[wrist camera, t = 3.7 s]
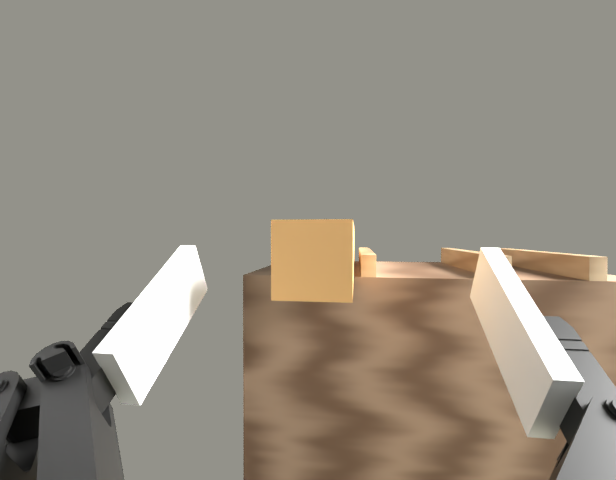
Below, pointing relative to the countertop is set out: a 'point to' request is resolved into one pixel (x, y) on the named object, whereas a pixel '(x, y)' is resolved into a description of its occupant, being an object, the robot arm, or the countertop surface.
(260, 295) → the brown patterned box
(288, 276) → the bar
